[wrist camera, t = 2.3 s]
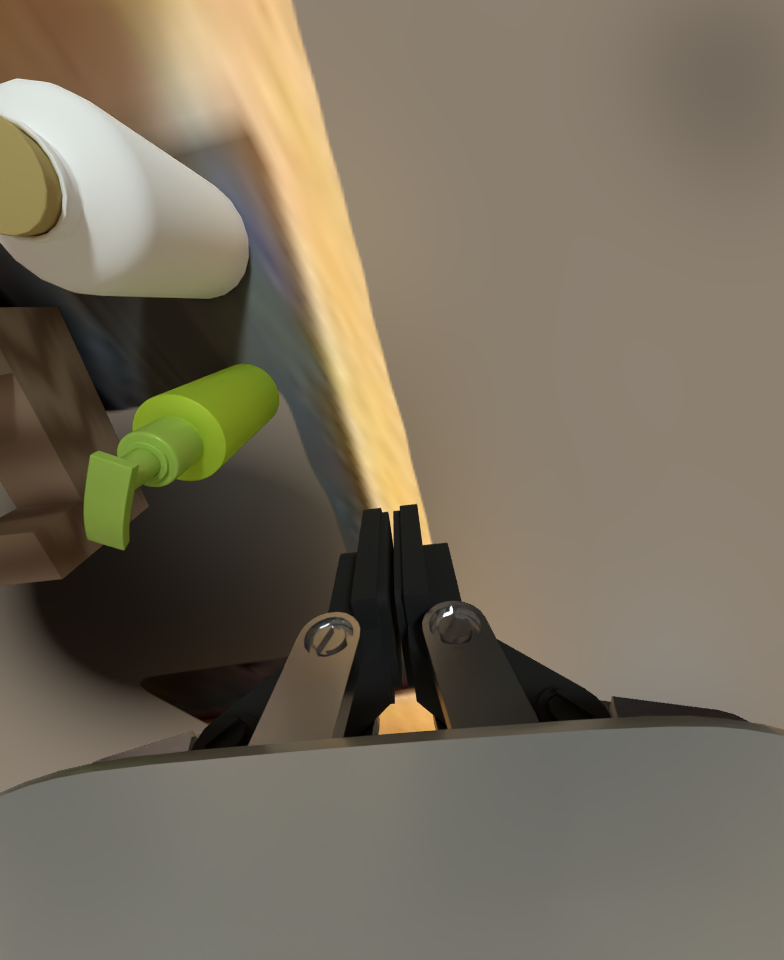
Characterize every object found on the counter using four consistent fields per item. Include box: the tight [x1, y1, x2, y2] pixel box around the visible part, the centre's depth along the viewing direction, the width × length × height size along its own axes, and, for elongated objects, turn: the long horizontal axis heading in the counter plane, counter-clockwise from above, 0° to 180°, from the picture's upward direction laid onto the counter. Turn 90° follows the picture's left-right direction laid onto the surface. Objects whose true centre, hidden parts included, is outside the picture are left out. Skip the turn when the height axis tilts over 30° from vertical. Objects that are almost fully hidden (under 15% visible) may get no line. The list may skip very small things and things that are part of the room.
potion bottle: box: [0, 78, 249, 299], centre depth 23 cm, size 8×8×18 cm
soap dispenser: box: [84, 364, 279, 550], centre depth 27 cm, size 6×7×20 cm
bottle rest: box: [0, 307, 149, 586], centre depth 32 cm, size 20×6×12 cm, turn 7°
